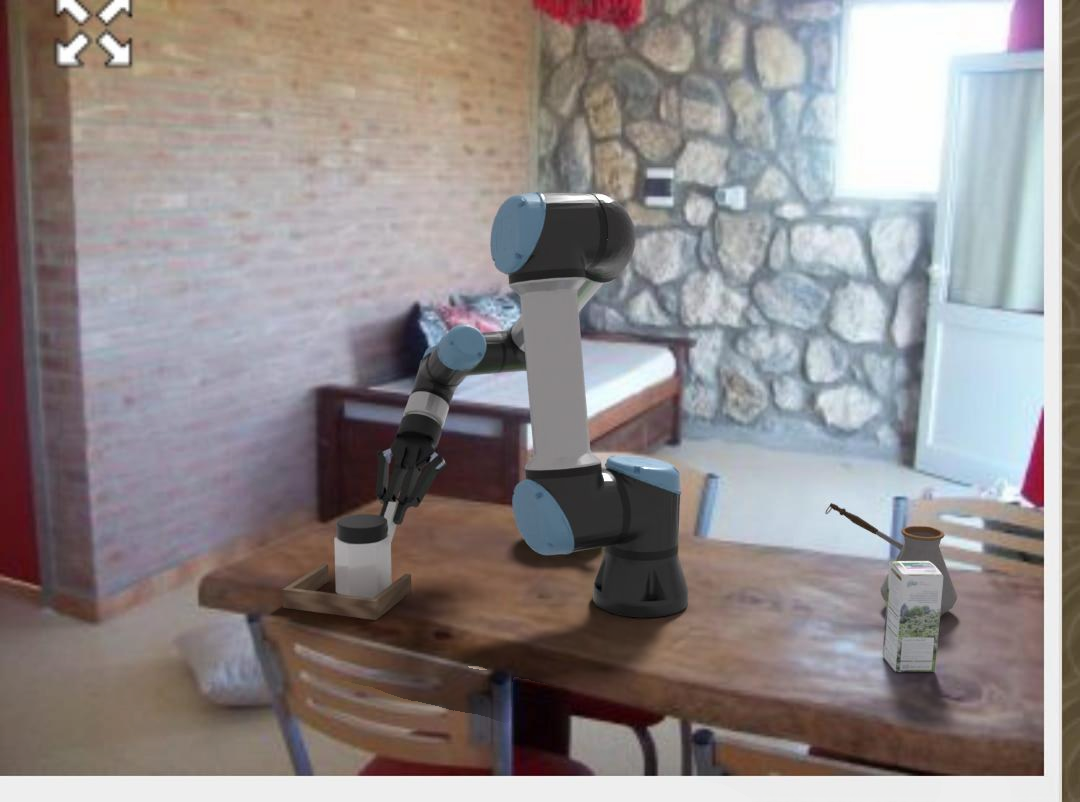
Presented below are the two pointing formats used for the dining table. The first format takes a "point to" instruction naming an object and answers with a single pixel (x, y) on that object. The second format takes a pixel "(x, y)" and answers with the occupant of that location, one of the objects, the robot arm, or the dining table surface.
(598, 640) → the dining table surface
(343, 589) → the jar
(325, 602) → the box
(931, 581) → the syrup box
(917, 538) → the coffee pot
